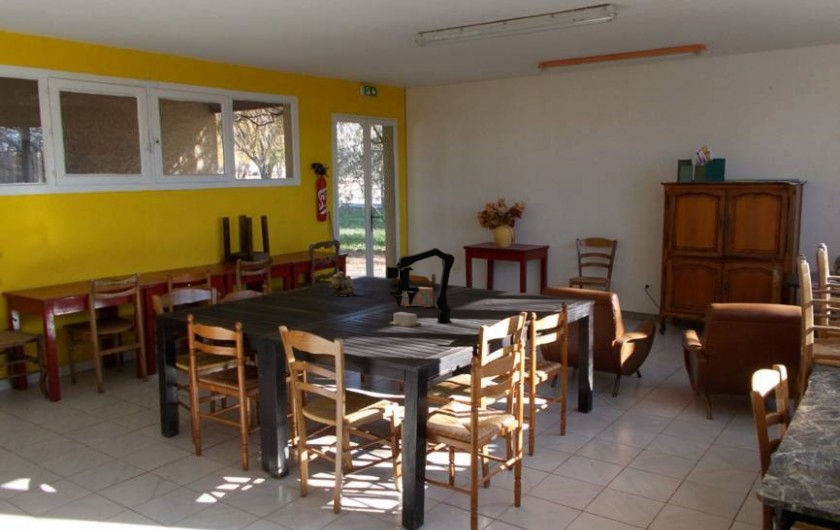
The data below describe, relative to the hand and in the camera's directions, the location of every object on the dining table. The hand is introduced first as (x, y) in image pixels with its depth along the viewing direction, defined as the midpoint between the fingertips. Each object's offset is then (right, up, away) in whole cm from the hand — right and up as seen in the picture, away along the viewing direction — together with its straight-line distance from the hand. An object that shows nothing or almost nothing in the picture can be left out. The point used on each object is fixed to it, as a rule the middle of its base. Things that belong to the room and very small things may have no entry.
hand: (404, 305), depth 400 cm
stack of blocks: (+6, -4, +58) cm, 58 cm away
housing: (0, -10, +1) cm, 10 cm away
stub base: (0, -11, +1) cm, 11 cm away
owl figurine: (-46, +1, +101) cm, 111 cm away
